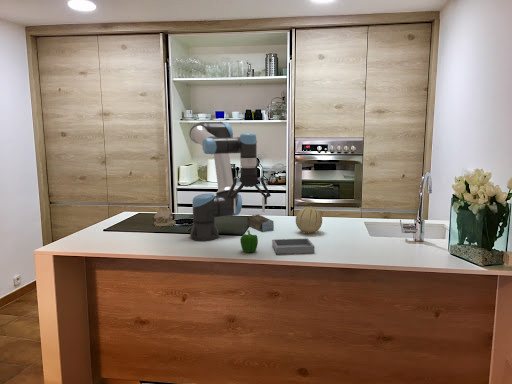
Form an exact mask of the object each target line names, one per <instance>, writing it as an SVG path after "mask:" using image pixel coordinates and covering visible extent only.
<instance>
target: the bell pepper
mask: <svg viewBox="0 0 512 384" xmlns="http://www.w3.org/2000/svg"><path fill="white" fill-rule="evenodd" d="M246 232H247V234H246V233H245V234H242V235H241V237H240V246H241V249H242V251H243V253H247V254H249V253H255V252H256V251H257V248H258V243H259V239H258V238H259V237H258V236H257V234H251V232H250V230H249V229H248V230H247V231H246Z"/></svg>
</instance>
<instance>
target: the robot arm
mask: <svg viewBox="0 0 512 384" xmlns="http://www.w3.org/2000/svg"><path fill="white" fill-rule="evenodd" d="M188 134H189V138H190V140H191V141H192V142H194V143H195V144H198V145H201V146H202V150H203V153H204V154H205V155H213V158H214V166H215V174H216V175H215V176H216V182H217V191H216V192H215V194H214V193H212V192H209V193H201V194H197V195H195V196H194V197H193V198H192V204H191V205H192V206H191V207H192V223H193V224H192V227H191V230H190V234H189V236H190V237H189V238H190V240H193V241H198V242H199V241H200V242H207V241H214V240H217V239H218V238H219V231H218V227H217V225H216V220H215V219H216V218H224V217H225V218H226V217H235V216H238V215H239V214H241V211H242V207H243V197H242V195H241V194H240V191H241V190H242V189H243V188H244V187H245V188H248V187H249V188H253V187H255V189H257V191H258V192H259V193H260V194H261V195H262V196H263V197H261V198H262V199H261V201H262V204H261V207H262V210H261V211H262V212H263V213H265V211H266V210H265V207H266V206H267V204H268V198H270V197H271V193H270V191H269V189H268V187H267V185H266V183H265V179H264V177H263V176H260V177H258V175H257V173H258V172H257V169H258V168H257V165H258V163H257V162H258V161H257V156H258V155H257V143H258V140H257V134H256V133H253V132H252V133H250V132H249V133H247V132H246V133H240V134H239V136H237V137H234V136H233V135H234V133H233V129H232V126H231V124H230V123H228V122H227V121H200V122H197V123H196V124H194V125H192V126H191V128H190V130H189V133H188ZM230 154H240V155H239V157H240V159H239V160H240V161H239V162H240V163H239V164H240V177H236V176H235V177H234V178H233V172H232V166H231V158H230V157H231V156H230ZM258 181H259V182H260V183H261V185H262V187H263V189H264V191H265V193H264V191H263V190H262V189H261V188H260V186H258V184H257V182H258ZM238 182H240V185H239V186H238V188H236V185H237V183H238ZM235 188H236V189H235Z"/></svg>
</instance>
